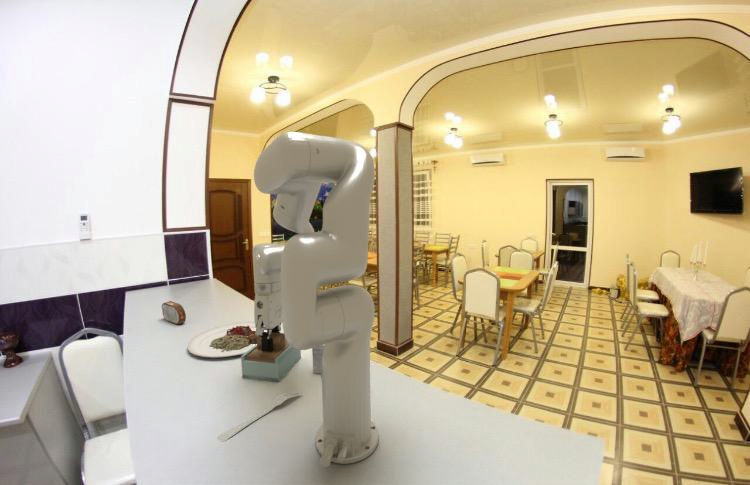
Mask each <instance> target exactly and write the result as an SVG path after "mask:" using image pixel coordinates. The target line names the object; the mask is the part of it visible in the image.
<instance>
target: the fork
mask: <svg viewBox="0 0 750 485" xmlns="http://www.w3.org/2000/svg"><path fill="white" fill-rule="evenodd" d="M303 396H304V395H302V394H301V393H299V392H285V393H281V394H280V395H279V394H278V395H277V396H276V397H275V398H274V400H273V404H272V406H270V407H269V408H268V409H267V410H265V411H263V412H261V413H259V414H257V415H256V416H253V417H251V418H250V419H247V420H246V421H243V422H241V423H239V424H237V425H235V426H233V427H231V428H229V429H227V430H225V431H224V432H222V433H221V434H220V435H218V436H217V440H219V441H220V442H221V443H225V442H226V441H228V440H229V439H230V438H232V437H233V436H235V435H236V434H238V433H239V432H240V431H242V430H243V429H244V428H247V427H248V426H249V425H251V424H252V423H253V422H255V421H257V420H258V419H260V418H262V417H263V416H265V415H267V414H268V413H269V412H271V411H273V409H275V408H276V407H278V406H280V405H281V404H283V403H284V402H285V401H286V400H288V399H292V398H295V397H296V398H297V397H303Z"/></svg>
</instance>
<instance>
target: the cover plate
mask: <svg viewBox="0 0 750 485" xmlns="http://www.w3.org/2000/svg"><path fill="white" fill-rule="evenodd" d="M266 333H267V332H266ZM271 338H272V341H273V351H272V352H263V351H262V344H261V339H260V336H259V335H258V336H257V348H256V349H255V350H254V351H252V352H251V353H250V354H248V355H247V356H246V360H247V361H257V362H268V363H275V359H276V358H277V357H278V356H279V355H280V354H281V353H282V352H283V351H284V350H285V349H287V348H288V347H289V346H290V345H289V343H288V342H287V340H285V335H284V332H280V333H273V332H271Z"/></svg>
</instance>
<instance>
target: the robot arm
mask: <svg viewBox="0 0 750 485" xmlns="http://www.w3.org/2000/svg"><path fill="white" fill-rule="evenodd" d="M375 169H376V168H375V164H374V160H373V157H372V155H371V153H370V152H369V150H368V149H367V148H366V147H365V146H363V145H362V144H360V143H358V142H354V141H353V140H348V139H344V138H339V137H333V136H327V135H317V134H313V133H306V132H299V131H287V132H282V133H281V134H280V135H278V136H277V137H276V138H275V139H273V141H272V142H270V144H268V145H267V146H266V147H265V148H264V149H263V151H262V152H261V153H260V155H259V156H258V157H257V160H256V163H255V165H254V169H253V180H254V185H255V187H256V188H257V190H258V191H259V192H260V193H262V194H265V195H267V194H268V195H277V196H276V200H275V204H274V207H273V209H272V210H273V212H272V217H273V219H274V220H275V222H276V223H277V224H278V225H279V226H280V227H282V228H284V229H287V230H289V231H290V232H294V233H296V234H295V235H293V236H291V237H290V238H289V239H288V240H287V242H286V243H285V244H277V243H271V242H269V243H268V242H267V243H259V244H258V243H257V244H256V245H254V246H253V247H252V264H253V267H252V268H253V280H254V281H253V282H254V283H253V285H254V286H253V287H254V294H255V296H254V304H253V305H254V307H253V309H254V310H253V316H254V317H253V320H254V321H253V322H255V327H256V331H255V334H256V335H259V336H260V339H261V344H262V351H263V352H272V351H273V341H272V338H271V332H273V333H281V330H282V329H283V333H284V335H285V338H286V340H287V342H288V343H289V345H290V346H291V347H293V348H294V349H297V350H301V351H306V350H310V349H311V350H312V348H314V347H317V346H320V345H323V344H325V346H324V349H323V353H322V359H321V370H322V373H321V395H322V396H321V398H322V402H321V403H322V425H320V427H319V428H318V431H316V436H315V447H316V449H317V453H318V454H319V455H320V456H321V457H320V458H319V463H320V465H321V466H322V467H325V468H326V467H329V466H330V465H331V462H333V463H335V464H341V465H342V464H343V465H344V464H345V465H347V464H353V463H354V464H355V463H358V462H360V461H362V460H364V459H366V458H368V457H369V456H370V455H372V453H373V452H374V451H375V450H376V448H377V446H378V445H379V437H380V436H379V430H378V427H377V425H376V424H375V423H374V421H373V420H372V419H371V418H372V417H371V407H372V406H371V340H372V331H373V326H374V321H375V314H376V313H375V312H376V310H375V309H376V308H375V302H374V299H373V297H372V295H371V293H370V292H369V291H368V290H367V289H365V287H362V286H360V285H355V284H346V285H338V286H335V287H331V288H325V289H322V290H319V289H320V287H323V286H324V287H325V286H328V285H335V284H340V283H344V282H348V281H353V280H356V279H358V278H360V277H362V276H363V275H364V274H365V273H366V270H367V268H368V261H369V242H370V240H369V235H370V207H371V206H370V205H371V200H372V193H373V189H374V184H375V172H376V170H375ZM325 183H327V184H328V183H329V184H335V185H334V186H333V187H332V188H331V190H330V191H329V193H328V195H327V196H326V198H325V201H324V203H323V207H322V226H321V227H322V228H321V230H320V231H315V229H314V227H313V224H311V223H310V218H311V215H312V213H313V209H314V208H315V204H316V201H317V199H318V196H319V193H320V191H321V186H322V185H323V184H325ZM281 325H282V326H281ZM264 326H265V327H264ZM264 330H267V333H266V332H264ZM279 331H280V332H279Z"/></svg>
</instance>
